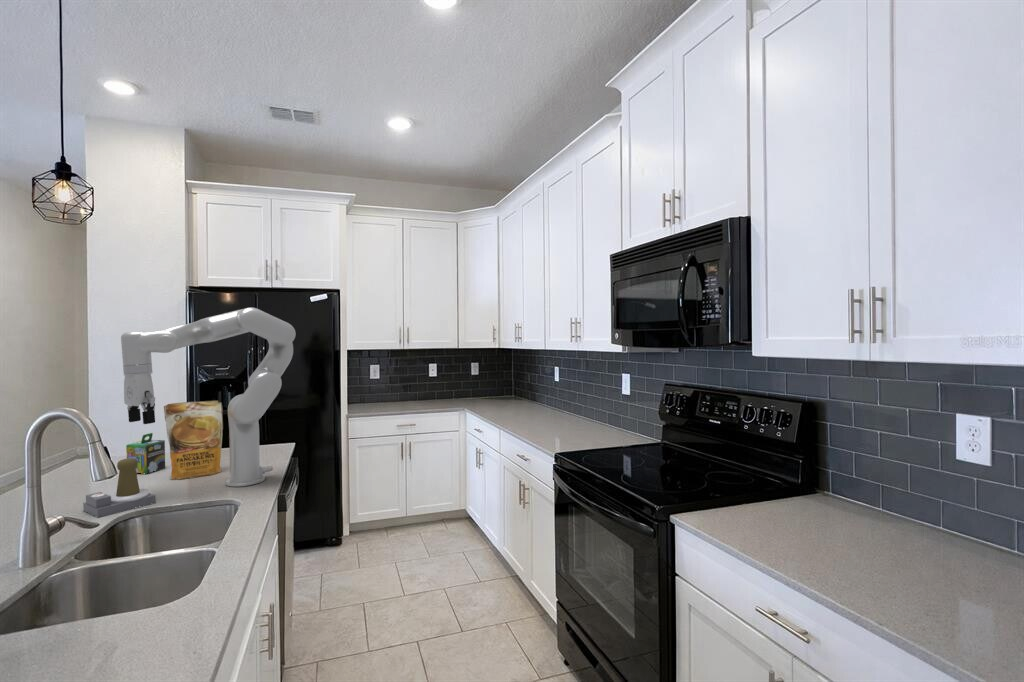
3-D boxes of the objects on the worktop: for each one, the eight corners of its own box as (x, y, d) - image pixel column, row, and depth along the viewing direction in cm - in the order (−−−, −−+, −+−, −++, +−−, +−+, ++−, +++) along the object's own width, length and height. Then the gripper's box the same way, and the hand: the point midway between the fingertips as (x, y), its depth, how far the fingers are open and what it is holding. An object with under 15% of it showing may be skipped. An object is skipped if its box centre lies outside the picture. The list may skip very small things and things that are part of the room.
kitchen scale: (140, 497, 167) (140, 481, 167) (155, 502, 161) (155, 486, 161) (83, 510, 154) (83, 493, 154) (97, 517, 148) (97, 499, 148)
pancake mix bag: (165, 477, 189) (163, 403, 189) (223, 469, 200) (222, 398, 200) (165, 482, 184) (163, 405, 183) (225, 473, 195) (224, 400, 194)
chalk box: (146, 467, 204) (145, 431, 204) (166, 468, 203) (165, 431, 203) (125, 474, 195) (124, 435, 195) (146, 474, 194) (145, 436, 194)
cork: (144, 490, 162) (144, 456, 162) (128, 497, 156) (127, 461, 156) (127, 490, 163) (127, 456, 163) (110, 496, 157) (110, 461, 157)
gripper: (112, 370, 165) (116, 422, 165) (137, 371, 156) (141, 426, 157) (138, 368, 171) (142, 418, 172) (164, 369, 162) (168, 421, 163)
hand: (142, 422), depth 164 cm, fingers open, 9 cm apart
